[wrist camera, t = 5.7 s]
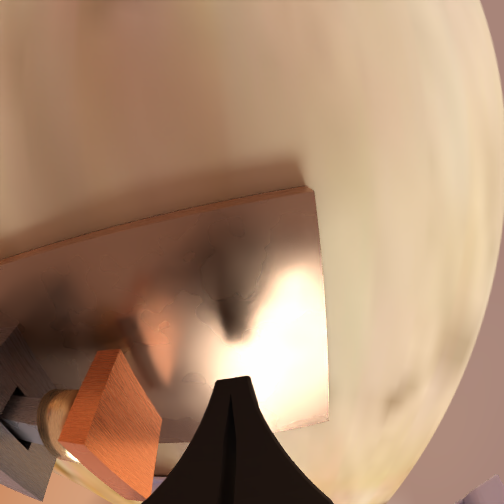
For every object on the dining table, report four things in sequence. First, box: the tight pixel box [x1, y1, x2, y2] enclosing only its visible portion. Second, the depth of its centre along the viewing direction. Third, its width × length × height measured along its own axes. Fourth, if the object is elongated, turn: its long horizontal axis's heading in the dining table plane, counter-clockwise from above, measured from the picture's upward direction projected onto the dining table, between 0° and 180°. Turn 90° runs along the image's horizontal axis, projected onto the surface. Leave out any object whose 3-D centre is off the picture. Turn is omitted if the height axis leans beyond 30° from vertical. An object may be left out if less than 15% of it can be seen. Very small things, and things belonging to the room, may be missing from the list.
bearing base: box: [0, 186, 329, 501], centre depth 10 cm, size 28×14×9 cm, turn 100°
